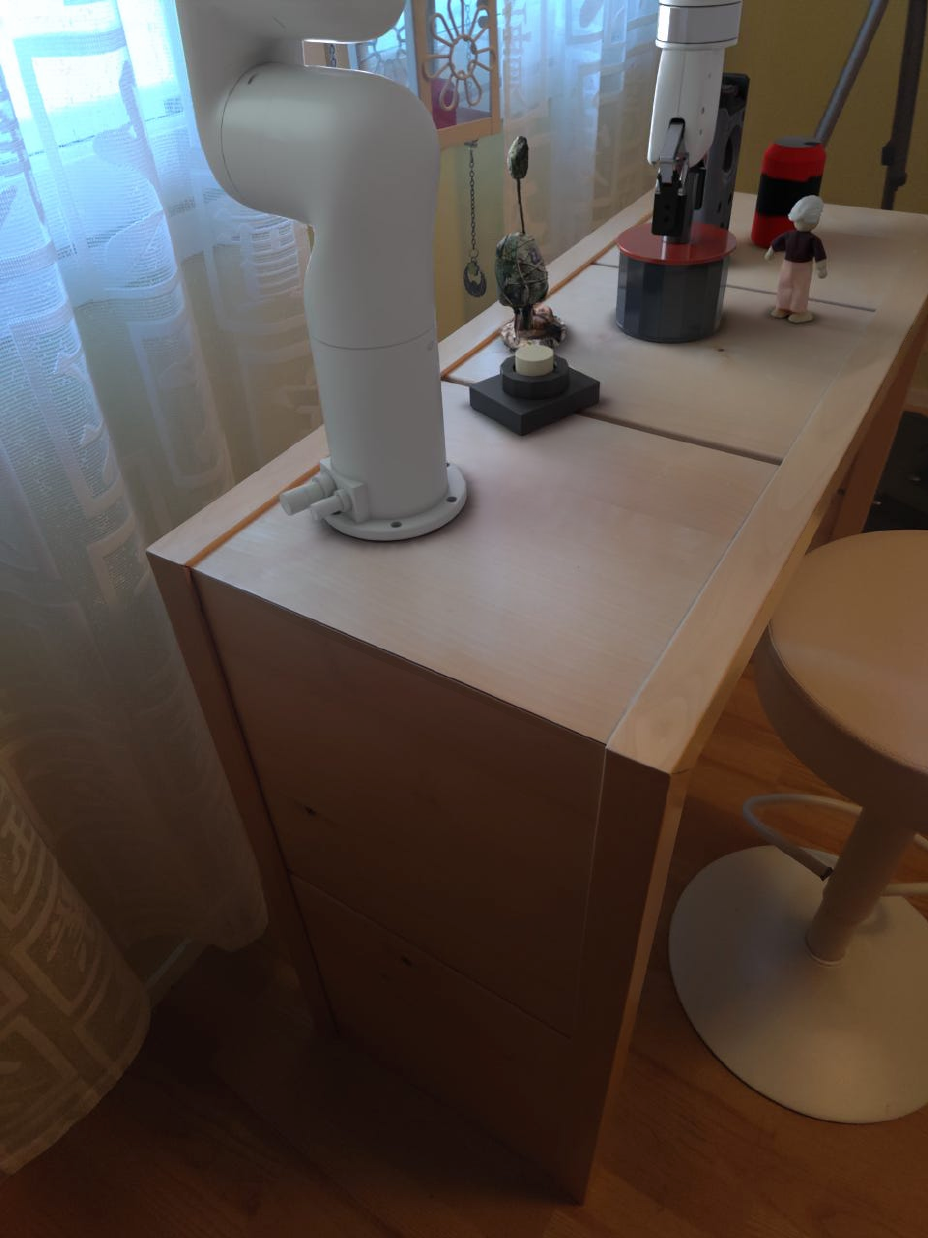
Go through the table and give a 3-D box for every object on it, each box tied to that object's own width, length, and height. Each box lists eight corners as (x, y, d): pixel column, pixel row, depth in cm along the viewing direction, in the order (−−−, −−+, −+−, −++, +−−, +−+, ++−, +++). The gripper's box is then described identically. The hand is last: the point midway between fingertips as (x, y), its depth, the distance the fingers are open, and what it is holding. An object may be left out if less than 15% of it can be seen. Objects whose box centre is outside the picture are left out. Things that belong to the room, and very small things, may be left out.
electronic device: (704, 270, 112) (728, 89, 99) (660, 263, 114) (677, 86, 101) (729, 247, 118) (754, 73, 105) (686, 241, 120) (706, 70, 107)
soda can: (791, 254, 115) (811, 152, 107) (739, 242, 119) (754, 144, 111) (819, 238, 119) (840, 138, 111) (768, 227, 123) (784, 131, 115)
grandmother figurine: (827, 316, 100) (853, 196, 91) (812, 328, 98) (838, 206, 89) (763, 301, 104) (783, 185, 95) (747, 312, 101) (767, 194, 93)
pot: (669, 352, 95) (678, 272, 89) (594, 320, 102) (598, 244, 96) (741, 321, 100) (753, 244, 94) (664, 293, 107) (672, 219, 101)
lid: (678, 280, 89) (687, 200, 84) (592, 249, 97) (595, 174, 92) (760, 249, 94) (773, 172, 89) (672, 223, 102) (679, 150, 97)
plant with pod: (472, 354, 97) (463, 153, 84) (520, 315, 104) (519, 125, 91) (539, 368, 93) (540, 161, 80) (583, 327, 101) (592, 131, 88)
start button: (532, 381, 83) (532, 364, 82) (508, 369, 85) (507, 352, 84) (561, 370, 85) (561, 352, 84) (536, 358, 87) (536, 341, 86)
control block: (521, 436, 83) (520, 397, 80) (469, 406, 88) (467, 368, 85) (599, 402, 87) (601, 364, 85) (546, 375, 92) (546, 338, 90)
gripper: (678, 11, 89) (661, 195, 101) (633, 40, 78) (620, 245, 89) (754, 11, 87) (728, 199, 98) (720, 41, 75) (695, 252, 87)
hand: (677, 220), depth 94 cm, fingers open, 8 cm apart
